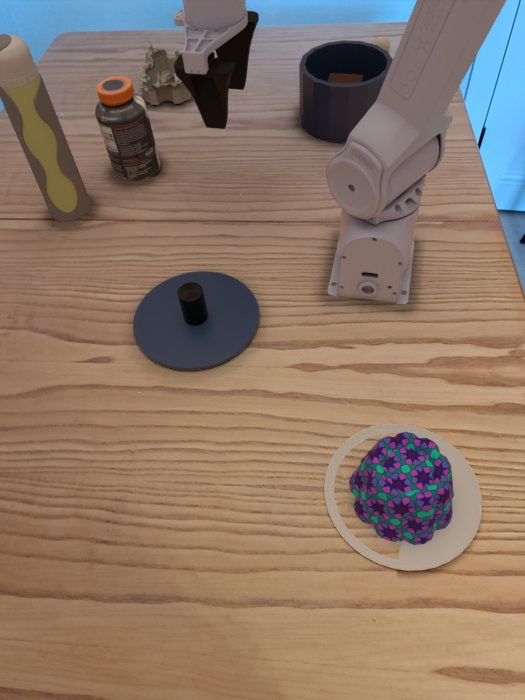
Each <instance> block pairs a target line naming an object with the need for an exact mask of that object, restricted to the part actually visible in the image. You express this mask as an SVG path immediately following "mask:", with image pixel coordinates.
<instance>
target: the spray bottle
mask: <svg viewBox="0 0 525 700" xmlns="http://www.w3.org/2000/svg"><path fill="white" fill-rule="evenodd" d="M0 100H1V103H2V105H3V107H4V110H5V112H6V114H7V117H8V120H9V121H10V124H11V126H12V128H13V131H14V133H15V135H16V138H17V140H18V142H19V145H20V148H21V149H22V152H23V154H24V156H25V159H26V160H27V161H26V162H27V163H28V166H29V167H30V170H31V172H32V175H33V177H34V179H35V181H36V184H37V185H38V188H39V191H40V193H41V195H42V197H43V200H44V202H45V204H46V207H47V209H48V211H49V214H50V216H51V218H52V219H54V220H55V221H57V222H62V223H68V222H69V223H71V222H75V221H79V220H80V219H82V218H84V217H85V216H86V215H87V214H88V213H89V212H90V211H91V209H92V201H91V199H90V196H89V194H88V191H87V189H86V185H85V184H84V181H83V178H82V175H81V173H80V170H79V167H78V165H77V163H76V161H75V158H74V156H73V153H72V150H71V148H70V145H69V143H68V140H67V137H66V135H65V133H64V130H63V127H62V124H61V122H60V120H59V117H58V115H57V113H56V110H55V107H54V104H53V102H52V99H51V98H50V95H49V91H48V89H47V87H46V85H45V82H44V79H43V76H42V74H41V73H40V72H39V70H38V67H37V64H36V62H35V60H34V57H33V55H32V53H31V49H30V46H29V45H28V43H27V42H26V41H25V40H24V39H22V38H21V37H19V36H17V35H13V34H7V33H2V34H1V33H0Z"/></svg>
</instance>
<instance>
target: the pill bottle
mask: <svg viewBox="0 0 525 700" xmlns="http://www.w3.org/2000/svg"><path fill="white" fill-rule="evenodd" d="M96 93H97V95H98V100H99V101H98V103H97V104H96V105H95V110H94V115H95V118H96V121H97V124H98V127H99V130H100V133H101V136H102V140H103V142H104V146H105V149H106V152H107V155H108V158H109V161H110V164H111V167H112V170H113V173H114V175H115V177H117V178H118V179H120V180H123V181H128V182H137V181H143V180H146V179H148V178H153V177H155V176H156V175H157V173H158V172H159V171H160V169H161V160H160V157H159V153H158V148H157V145H156V139H155V136H154V133H153V128H152V123H151V120H150V116H149V112H148V108H147V107H148V106H147V104H146V101H145V99H143V98H142V97H141V95H139V94H137V93H136V92H135V89H134V86H133V82H132V80H131V79H130V78H129V77H126V76H123V75H122V76H120V75H115V76H110V77H107V78H104V79H102V80H101V81H99V83H98V84H97V85H96Z"/></svg>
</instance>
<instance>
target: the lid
mask: <svg viewBox="0 0 525 700" xmlns="http://www.w3.org/2000/svg"><path fill="white" fill-rule="evenodd" d="M259 323H260V307H259V303H258V301H257V298H256V296H255V294H254V293H253V292H252V291H251V289H250V288H249V287H248V286H247V285H246V284H244V282H242V281H240V280H239V279H237V278H235V277H233V276H231V275H228V274H225V273H222V272H218V271H207V270H199V271H198V270H197V271H190V272H186V273H181V274H178V275H174V276H172V277H170V278H167V279H166V280H164V281H162V282H160V283H159V284H157V285H156V286H154V287H153V288H152V289H151V290H150V291H148V293H146V295H145V296H144V297H143V298H142V299H141V301H140V303H139V304H138V305H137V308H136V309H135V313H134V316H133V322H132V330H133V335H134V338H135V341H136V344H137V345H138V348H139V349H140V351H141V352H142V353H143V355H145V356H146V357H147V358H148V359H149V360H151V361H153V362H154V363H156V364H157V365H160V366H162V367H165V368H167V369H170V370H175V371H183V372H197V371H205V370H209V369H213V368H215V367H219V366H221V365H224V364H226V363H228V362H229V361H231V360H233V359H235V358H237V356H239V355H240V354H241V353H242V352H244V350H245V349H246V348H247V347H248V346H249V345H250V343H252V341H253V339H254V338H255V336H256V334H257V331H258V328H259Z"/></svg>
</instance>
